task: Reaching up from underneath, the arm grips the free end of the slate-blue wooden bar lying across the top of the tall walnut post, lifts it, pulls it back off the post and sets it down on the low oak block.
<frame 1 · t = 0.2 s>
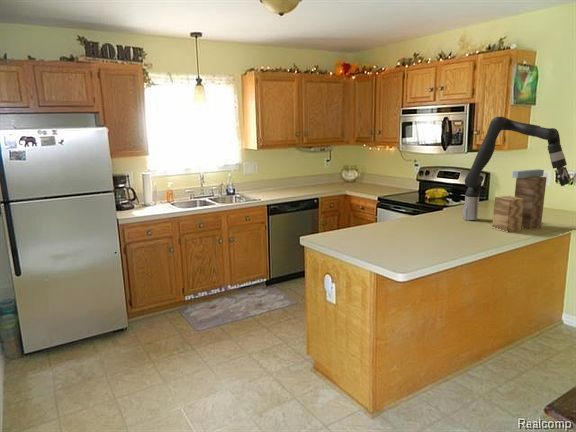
hand: (565, 184, 259), 31 cm above the countertop, tool tilted 20°, fingers open, 8 cm apart
block: (506, 229, 277), on the countertop
post: (526, 226, 283), on the countertop
bar: (527, 176, 274), point 34 cm above the countertop, touching post
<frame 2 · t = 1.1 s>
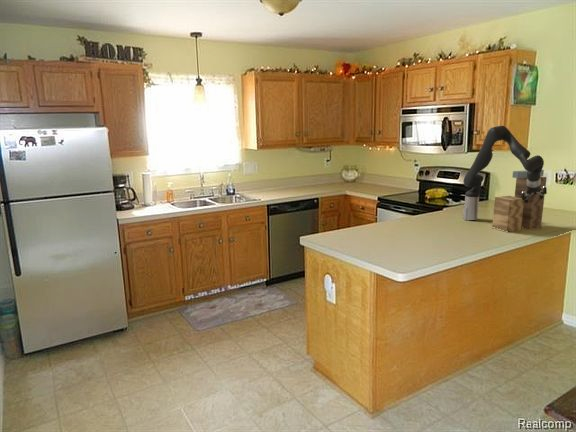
hand: (533, 200, 268), 20 cm above the countertop, tool tilted 40°, fingers open, 8 cm apart
nothing on the countertop moved.
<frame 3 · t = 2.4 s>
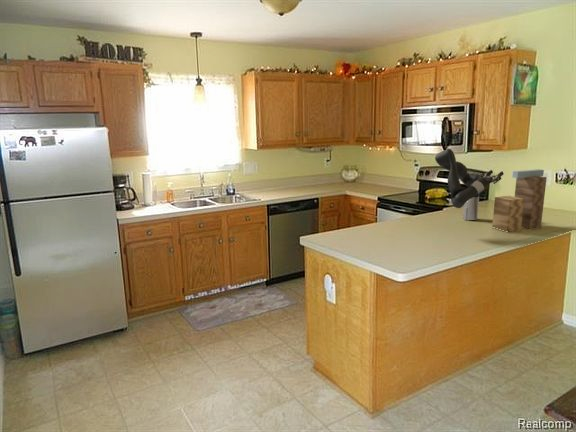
hand: (497, 171, 265), 39 cm above the countertop, tool pointing upward, fingers open, 8 cm apart
nothing on the countertop moved.
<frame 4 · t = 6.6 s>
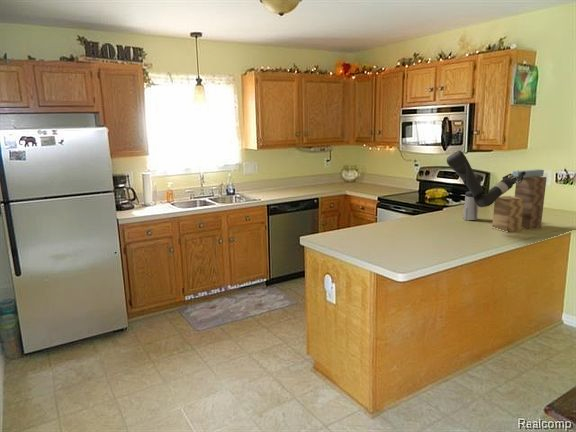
hand: (521, 172, 272), 37 cm above the countertop, tool pointing upward, fingers closed on bar, 4 cm apart
bar: (527, 176, 274), point 34 cm above the countertop, touching gripper, post
everything else where it was.
when the fingers open (26 cm above the countertop, at t = 13.9 s): bar drops 1 cm, resting on block.
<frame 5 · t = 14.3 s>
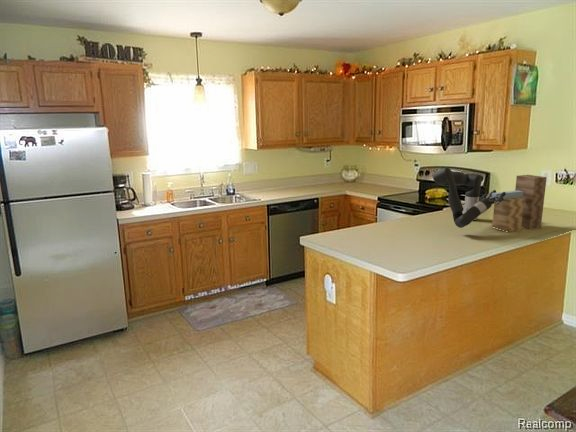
hand: (500, 192, 269), 26 cm above the countertop, tool pointing upward, fingers open, 7 cm apart
bar: (507, 198, 272), point 21 cm above the countertop, touching block
everything else where it was.
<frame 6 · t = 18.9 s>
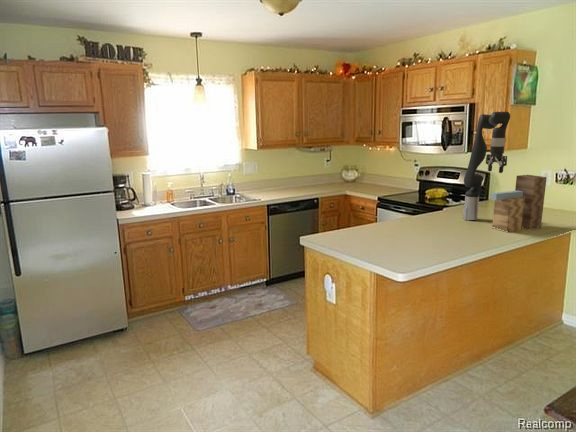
hand: (495, 172, 257), 40 cm above the countertop, tool pointing down, fingers open, 8 cm apart
nothing on the countertop moved.
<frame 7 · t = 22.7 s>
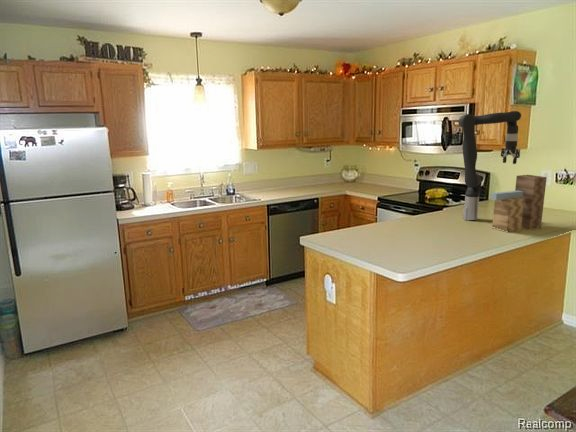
hand: (509, 163, 297), 40 cm above the countertop, tool pointing down, fingers open, 8 cm apart
nothing on the countertop moved.
at the end: bar inside the target area on the block (0.5 cm from its centre), point 21.0 cm above the block's base; bar touching block; the gripper is holding nothing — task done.
